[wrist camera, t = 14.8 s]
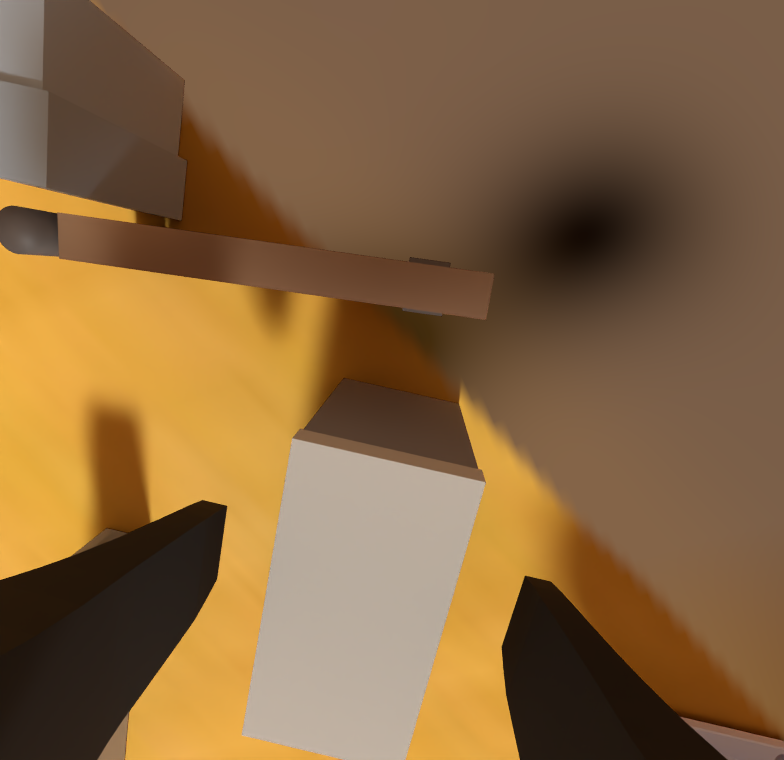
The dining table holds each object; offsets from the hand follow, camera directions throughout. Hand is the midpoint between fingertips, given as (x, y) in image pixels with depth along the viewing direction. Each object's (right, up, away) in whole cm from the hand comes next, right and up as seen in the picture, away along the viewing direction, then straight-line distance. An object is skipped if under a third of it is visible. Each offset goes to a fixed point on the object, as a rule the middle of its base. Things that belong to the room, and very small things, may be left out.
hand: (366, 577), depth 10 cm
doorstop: (0, 0, +6) cm, 6 cm away
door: (-2, +8, +4) cm, 9 cm away
